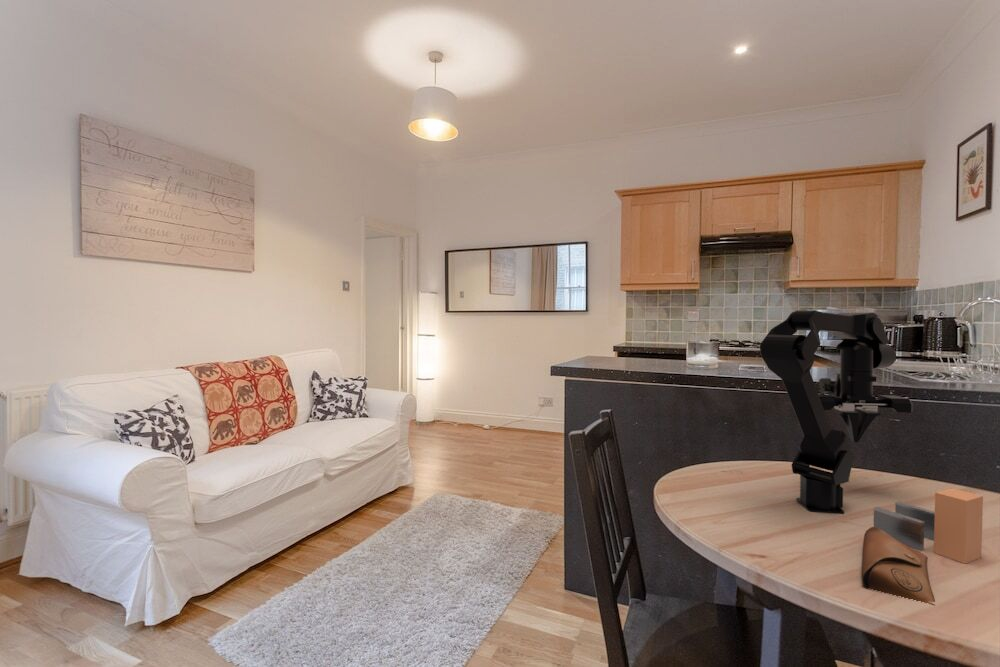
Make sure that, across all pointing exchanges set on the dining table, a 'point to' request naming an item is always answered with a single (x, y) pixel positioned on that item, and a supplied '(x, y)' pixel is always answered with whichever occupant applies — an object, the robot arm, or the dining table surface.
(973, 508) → the block
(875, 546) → the sunglasses case
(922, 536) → the silver twin-wall channel
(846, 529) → the dining table surface
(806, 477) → the robot arm
